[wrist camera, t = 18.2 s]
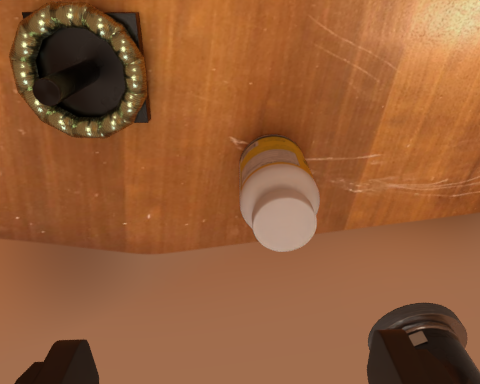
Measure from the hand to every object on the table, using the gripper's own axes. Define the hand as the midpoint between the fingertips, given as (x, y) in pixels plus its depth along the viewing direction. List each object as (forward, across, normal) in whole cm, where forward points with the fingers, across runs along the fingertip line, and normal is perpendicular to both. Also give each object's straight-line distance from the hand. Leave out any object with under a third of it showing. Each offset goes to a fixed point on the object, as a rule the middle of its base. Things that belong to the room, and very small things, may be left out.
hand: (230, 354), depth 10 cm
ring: (+24, +12, -4) cm, 28 cm away
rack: (+26, +12, -4) cm, 29 cm away
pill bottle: (+27, -4, +5) cm, 28 cm away
